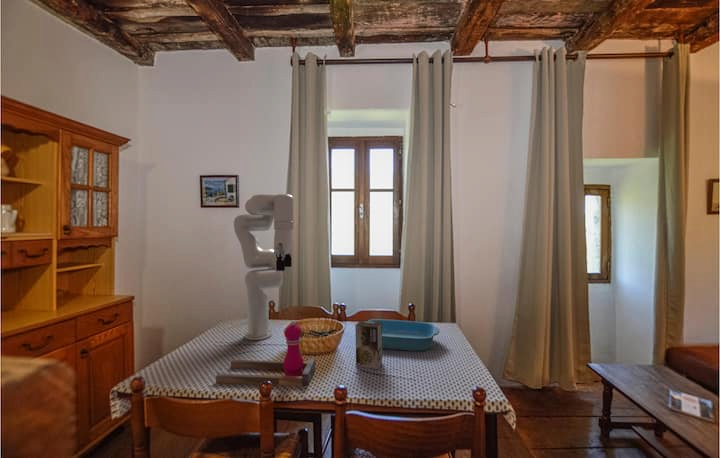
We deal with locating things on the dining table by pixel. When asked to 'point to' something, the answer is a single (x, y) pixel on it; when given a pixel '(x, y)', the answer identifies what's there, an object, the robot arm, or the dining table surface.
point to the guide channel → (275, 380)
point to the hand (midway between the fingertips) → (284, 268)
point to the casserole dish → (407, 334)
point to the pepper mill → (293, 351)
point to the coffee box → (368, 344)
